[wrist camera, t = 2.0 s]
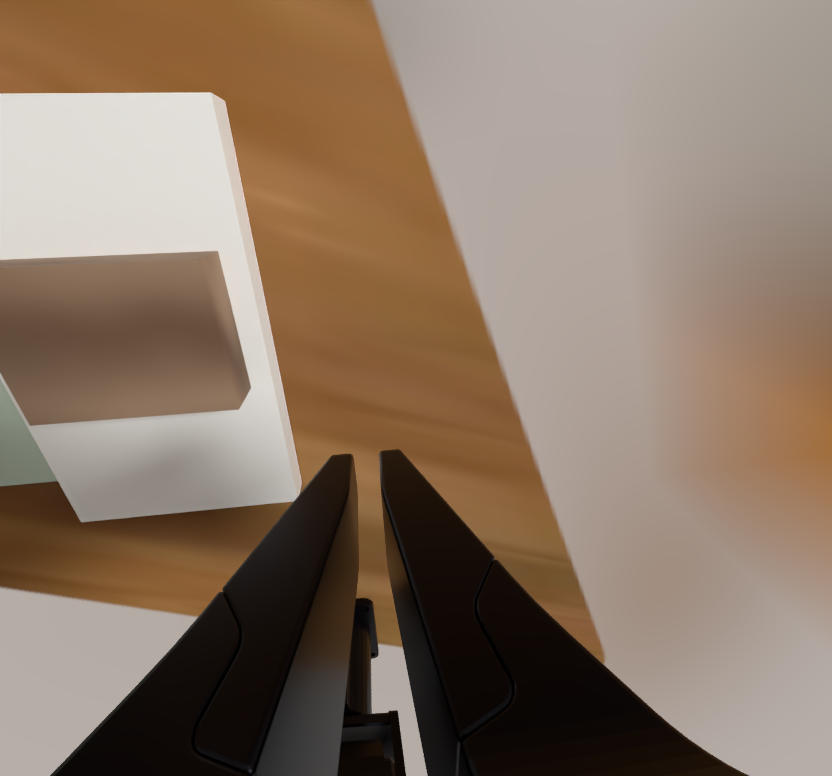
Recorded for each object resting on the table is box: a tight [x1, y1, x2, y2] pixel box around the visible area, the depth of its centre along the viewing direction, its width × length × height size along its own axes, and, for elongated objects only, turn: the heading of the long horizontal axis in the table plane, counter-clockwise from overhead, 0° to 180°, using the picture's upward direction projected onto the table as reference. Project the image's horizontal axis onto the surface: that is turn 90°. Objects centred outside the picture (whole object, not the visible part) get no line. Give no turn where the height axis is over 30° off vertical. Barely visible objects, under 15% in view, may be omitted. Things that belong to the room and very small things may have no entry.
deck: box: [0, 93, 302, 522], centre depth 17 cm, size 18×11×2 cm, turn 2°
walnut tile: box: [0, 251, 251, 426], centre depth 15 cm, size 6×8×2 cm
